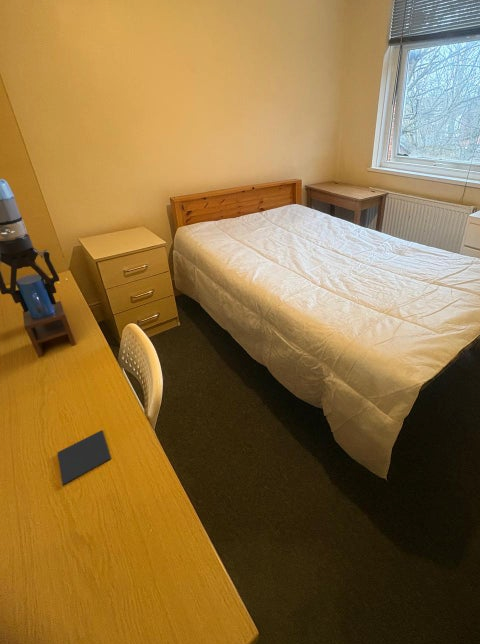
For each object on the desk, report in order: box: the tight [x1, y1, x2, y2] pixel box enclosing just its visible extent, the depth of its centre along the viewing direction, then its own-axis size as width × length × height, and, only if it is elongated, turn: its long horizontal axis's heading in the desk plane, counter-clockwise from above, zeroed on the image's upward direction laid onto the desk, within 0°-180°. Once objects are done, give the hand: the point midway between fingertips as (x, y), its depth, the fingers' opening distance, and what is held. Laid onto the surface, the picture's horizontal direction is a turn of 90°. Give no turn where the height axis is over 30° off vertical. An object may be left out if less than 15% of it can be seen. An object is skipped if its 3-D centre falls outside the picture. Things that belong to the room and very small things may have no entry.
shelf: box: [22, 300, 77, 358], centre depth 103 cm, size 10×10×12 cm
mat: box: [57, 430, 112, 486], centre depth 72 cm, size 9×9×1 cm
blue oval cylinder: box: [16, 273, 55, 319], centre depth 97 cm, size 9×6×12 cm
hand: (40, 306), depth 99 cm, fingers closed on blue oval cylinder, 6 cm apart
